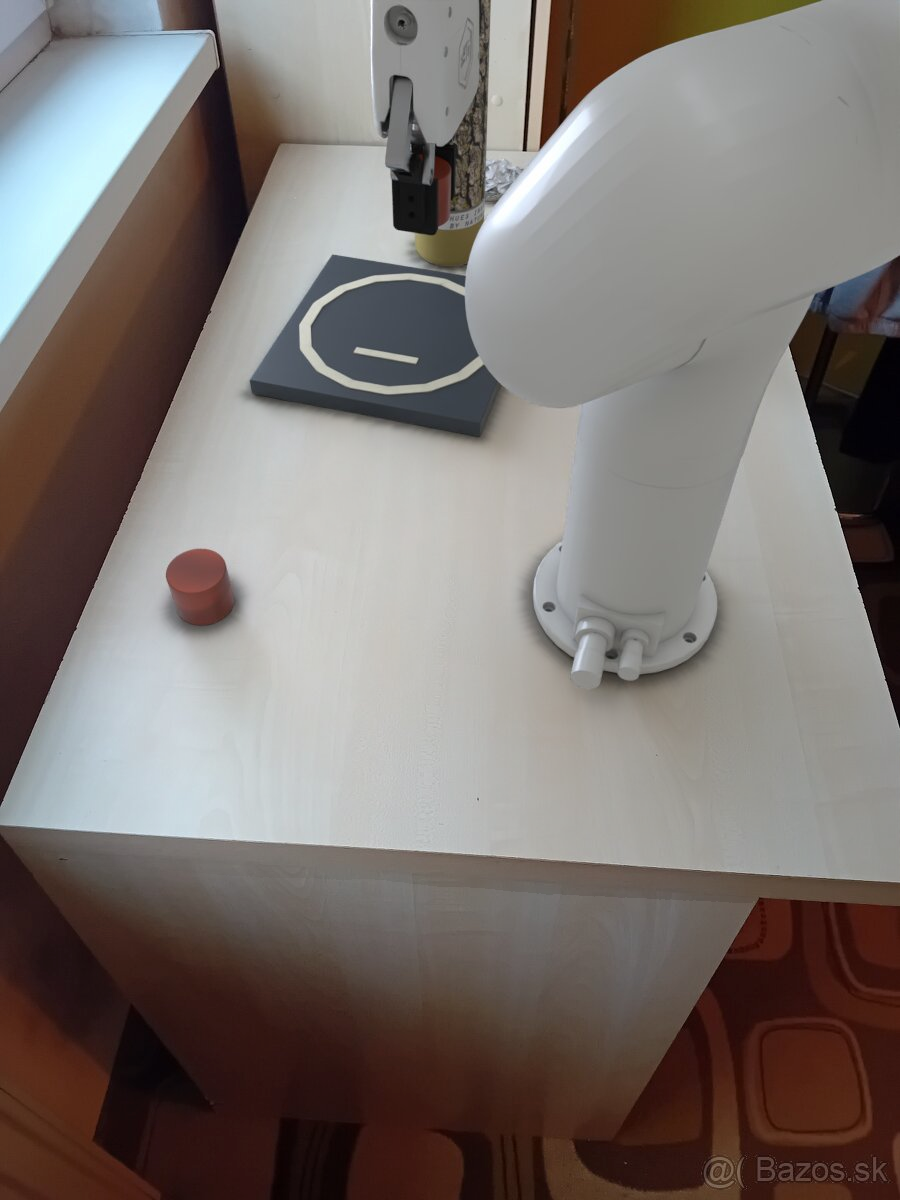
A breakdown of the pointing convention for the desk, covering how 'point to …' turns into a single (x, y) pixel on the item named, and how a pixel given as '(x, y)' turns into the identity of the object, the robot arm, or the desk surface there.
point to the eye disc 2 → (442, 188)
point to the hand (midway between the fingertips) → (424, 211)
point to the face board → (382, 348)
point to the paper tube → (465, 171)
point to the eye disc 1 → (200, 586)
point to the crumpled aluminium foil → (499, 176)
